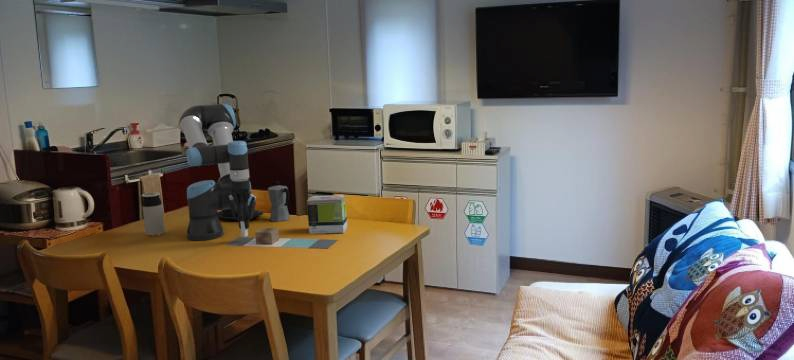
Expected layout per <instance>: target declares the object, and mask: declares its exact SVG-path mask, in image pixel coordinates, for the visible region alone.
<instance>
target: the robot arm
mask: <svg viewBox="0 0 794 360" xmlns="http://www.w3.org/2000/svg"><path fill="white" fill-rule="evenodd" d="M236 122H237V121H236V116H235V112H234V109H233V107H232V106H231V104H229V103H219V104H217V103H216V104H203V105H194V106H191V107H189V108H187V109H185V111H183V112H182V113H181V115H180V117H179V120H178V126H179V130H180V132H181V133H182V134H184V137H185V141H186V143H187V145H188V147H187V148H186V159H187V164H188V165H189V166H190V167H200V166H209V165H217V166H218V171H219V174H220V175H219V176H220V177H219V178H218V180H217V182H216V181H215V180H213V179H209V180H207V179H206V180H201V181H198V182H194V183H192V184H190V185H188V187H187V188H186V199H187V207H188V218H189V221H188V225H187V226H188V227H187V230H186V239H187V238H188V240H190V241H208V240H213V239H217V238H221V237H223V236H224V228H223V225H222V223H221V221H220V219H219V218H220V217H218V213H217V212H219V211H222V210H226V209H231V211H232V215H233V218H234V220H233V221H238V228H239V229H240V231H241V237H248V236H249V230H248V229H249V228H250V223H249V222H250V220H252V219H253V214H254V207H255V206H256V205H255V203H256V201H257V199H258V196H257V195H254V194H252V193H253V192H252V185H251V184H252V183H251V181H250V167H249V157H248V156H249V155H248V149H249V148H248V147H247V142H246V141H244V140H234V139H233V136H232V133H233V131H234V129H235V128H236V124H237V123H236ZM204 131H207V134H208V135H209V136H210V137H211V138H212V142H213V145H209V144H208V142H207V139H206V137H205V135H204ZM249 204H250V205H249ZM248 206H249V212H248ZM242 207H243V209H242ZM255 208H256V207H255Z"/></svg>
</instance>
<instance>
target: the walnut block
mask: <svg viewBox="0 0 794 360" xmlns="http://www.w3.org/2000/svg"><path fill="white" fill-rule="evenodd" d="M254 232H255V233H254V236H255V237H254V238H256V244H265V245H272V244H274V243H275V242H277V241H278V240H279V238H280V233H279V232H280V231H279V227H261V228H260V229H258V230H256V231H254Z"/></svg>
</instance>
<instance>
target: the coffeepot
mask: <svg viewBox="0 0 794 360" xmlns="http://www.w3.org/2000/svg"><path fill="white" fill-rule="evenodd" d="M267 192H268V196H269V201H270V203H271V207H270V217H269V220H270V221H271V222H272V223H273V222H274V223H281V222H286V221H290V220H291V218H290V214H289V210H288V205H289V199H290V191H289V187H287V186H286V185H280V181H275V185H273V186H269V187H268V188H267Z"/></svg>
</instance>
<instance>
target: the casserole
mask: <svg viewBox="0 0 794 360" xmlns="http://www.w3.org/2000/svg"><path fill="white" fill-rule="evenodd" d="M256 204H257V202H255V206H256ZM249 205H250V204H249ZM255 208H256V207H254V214H253V218H258V217H260V216H263V215H264V214H265V212H264V211H260V210H257V209H255ZM242 209H243V207H242ZM248 212H249V206H248ZM217 213H218V218H221V219H226V220H229V221H235V220H234V218H233V215H232V211H231V209H226V210H218V211H217ZM253 218H252V219H253Z"/></svg>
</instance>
